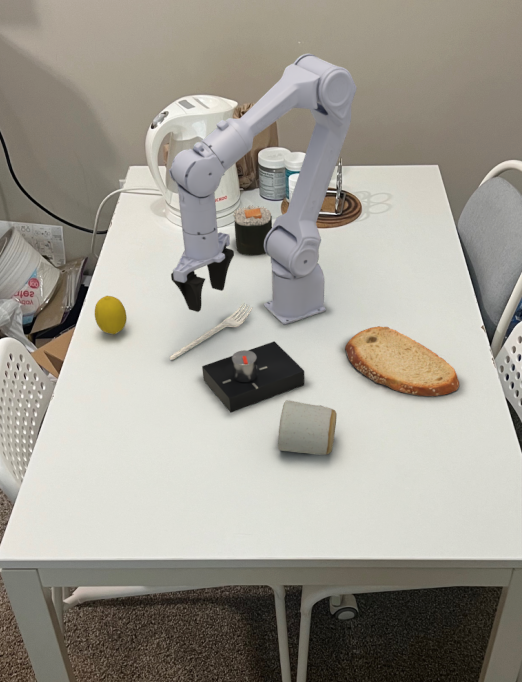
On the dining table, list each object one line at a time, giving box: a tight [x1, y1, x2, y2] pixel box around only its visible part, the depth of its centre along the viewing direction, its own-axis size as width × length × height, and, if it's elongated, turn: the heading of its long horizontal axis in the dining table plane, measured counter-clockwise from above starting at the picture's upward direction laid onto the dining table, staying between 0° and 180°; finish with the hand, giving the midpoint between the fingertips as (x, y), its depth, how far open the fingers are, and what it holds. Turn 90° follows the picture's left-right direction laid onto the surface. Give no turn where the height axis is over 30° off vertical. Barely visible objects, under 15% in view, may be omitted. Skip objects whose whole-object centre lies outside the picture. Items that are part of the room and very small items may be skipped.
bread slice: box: [344, 325, 460, 397], centre depth 128 cm, size 18×18×4 cm
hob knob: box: [231, 349, 257, 382], centre depth 122 cm, size 4×4×4 cm
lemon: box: [94, 295, 127, 335], centre depth 135 cm, size 6×6×8 cm
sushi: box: [232, 205, 273, 256], centre depth 159 cm, size 8×8×8 cm
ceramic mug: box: [277, 399, 338, 456], centre depth 113 cm, size 11×8×8 cm
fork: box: [169, 302, 254, 361], centre depth 136 cm, size 3×20×2 cm, turn 140°
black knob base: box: [201, 341, 305, 414], centre depth 125 cm, size 14×10×3 cm
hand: (206, 299), depth 130 cm, fingers open, 7 cm apart
